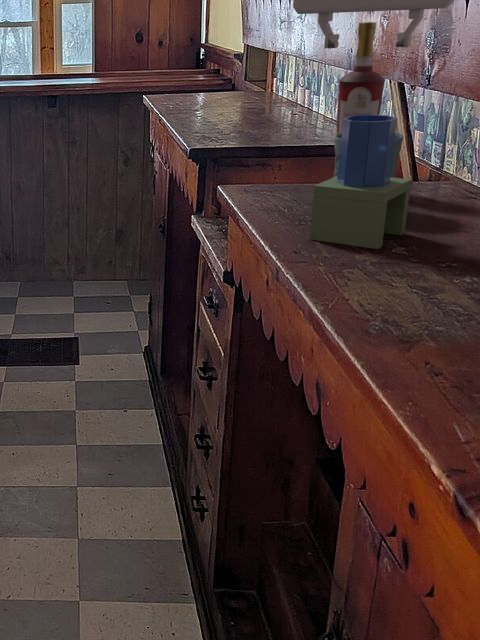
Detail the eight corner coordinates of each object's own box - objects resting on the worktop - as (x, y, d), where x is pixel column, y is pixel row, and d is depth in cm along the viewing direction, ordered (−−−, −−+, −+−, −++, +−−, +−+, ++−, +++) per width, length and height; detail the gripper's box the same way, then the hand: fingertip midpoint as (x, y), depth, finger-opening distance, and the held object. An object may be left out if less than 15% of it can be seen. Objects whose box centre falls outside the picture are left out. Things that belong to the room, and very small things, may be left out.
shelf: (404, 233, 127) (411, 179, 124) (378, 249, 121) (384, 192, 118) (338, 224, 134) (343, 173, 131) (309, 239, 127) (314, 185, 124)
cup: (395, 180, 124) (403, 116, 121) (377, 189, 120) (384, 122, 116) (349, 176, 129) (356, 114, 125) (330, 184, 124) (336, 120, 121)
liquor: (373, 185, 157) (392, 20, 146) (371, 194, 151) (390, 22, 140) (330, 183, 160) (346, 22, 149) (327, 192, 154) (342, 24, 143)
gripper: (290, -58, 116) (283, 50, 122) (458, -73, 105) (442, 48, 110) (305, -58, 121) (297, 47, 126) (467, -72, 110) (451, 44, 115)
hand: (366, 47), depth 118 cm, fingers open, 8 cm apart
